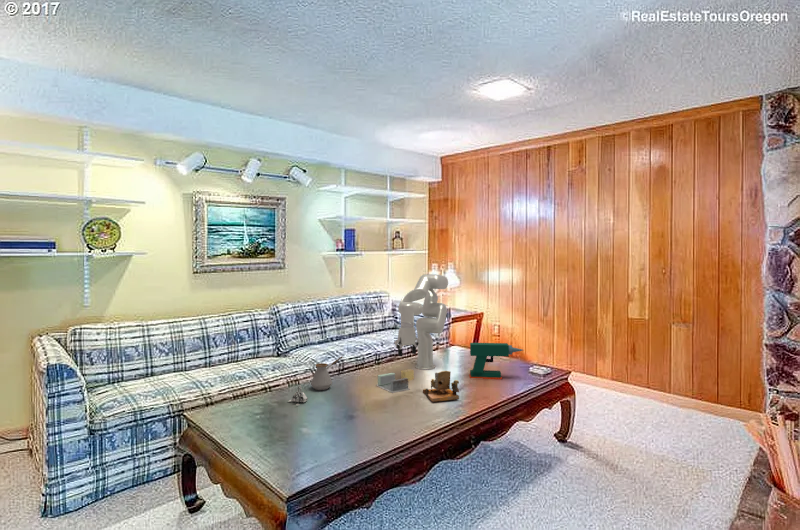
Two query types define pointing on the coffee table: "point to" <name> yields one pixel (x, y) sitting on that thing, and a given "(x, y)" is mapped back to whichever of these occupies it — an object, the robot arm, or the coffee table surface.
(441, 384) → the armchair
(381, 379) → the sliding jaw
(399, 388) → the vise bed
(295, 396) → the grey craggy lump
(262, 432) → the coffee table surface
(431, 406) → the coffee table surface
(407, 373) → the brass block
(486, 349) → the power tool
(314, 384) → the coffee pot
